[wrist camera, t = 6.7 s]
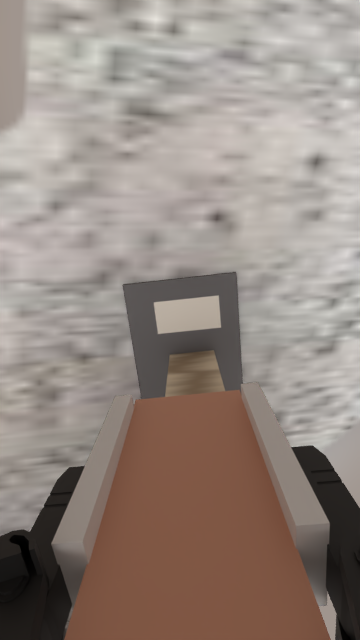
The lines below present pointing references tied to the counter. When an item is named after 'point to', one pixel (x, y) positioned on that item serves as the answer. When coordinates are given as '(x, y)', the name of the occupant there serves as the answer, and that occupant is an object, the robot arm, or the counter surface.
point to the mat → (184, 327)
